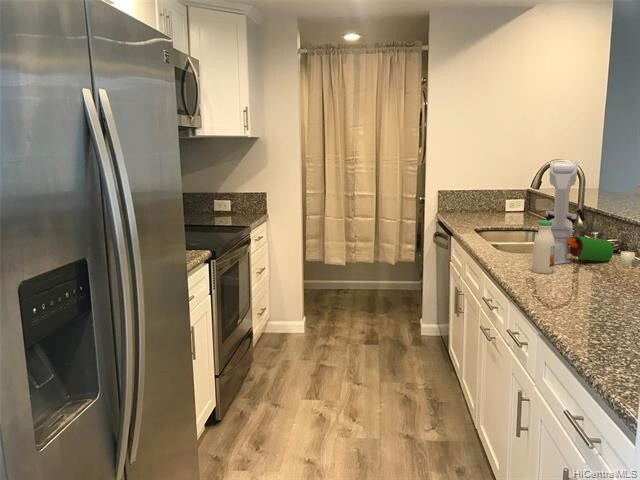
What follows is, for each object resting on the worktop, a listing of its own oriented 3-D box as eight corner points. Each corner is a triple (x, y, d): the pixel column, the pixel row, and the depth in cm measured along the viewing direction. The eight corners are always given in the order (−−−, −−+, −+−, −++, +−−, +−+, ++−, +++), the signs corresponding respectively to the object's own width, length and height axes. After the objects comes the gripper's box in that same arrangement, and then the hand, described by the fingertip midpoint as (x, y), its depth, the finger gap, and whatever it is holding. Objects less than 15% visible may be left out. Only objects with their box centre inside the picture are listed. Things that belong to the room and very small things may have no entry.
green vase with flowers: (591, 255, 233) (554, 250, 226) (599, 236, 230) (562, 230, 223) (608, 264, 223) (570, 259, 217) (617, 245, 221) (578, 239, 214)
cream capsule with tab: (632, 267, 214) (634, 255, 214) (617, 263, 220) (618, 252, 220) (641, 265, 217) (642, 253, 216) (625, 262, 223) (626, 250, 222)
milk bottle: (543, 275, 203) (547, 223, 200) (527, 271, 210) (530, 220, 206) (557, 272, 207) (561, 221, 203) (541, 268, 213) (544, 219, 210)
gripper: (582, 203, 230) (580, 234, 232) (554, 200, 243) (552, 230, 245) (570, 204, 227) (568, 236, 229) (543, 201, 240) (541, 231, 242)
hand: (559, 233), depth 237 cm, fingers open, 7 cm apart
